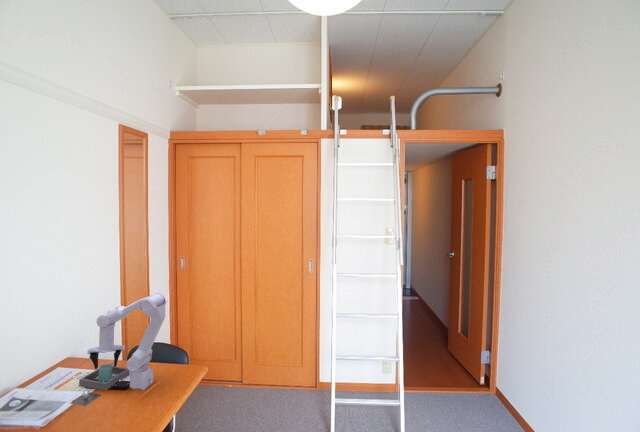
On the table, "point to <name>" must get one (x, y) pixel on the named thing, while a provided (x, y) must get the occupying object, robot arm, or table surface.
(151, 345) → the robot arm
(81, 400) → the stud plate
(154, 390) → the table surface
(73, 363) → the table surface
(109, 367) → the socket block
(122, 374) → the bin
